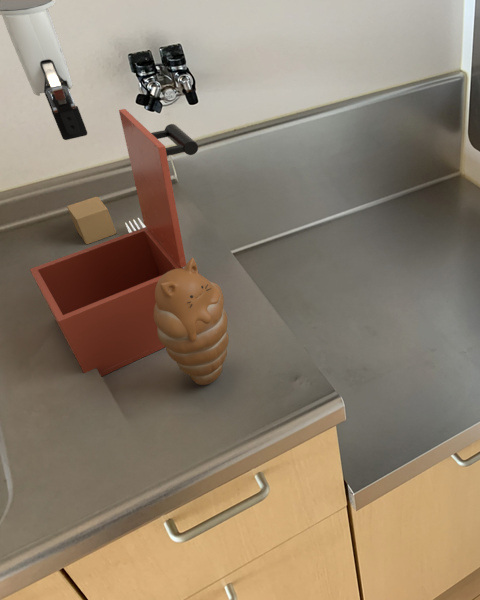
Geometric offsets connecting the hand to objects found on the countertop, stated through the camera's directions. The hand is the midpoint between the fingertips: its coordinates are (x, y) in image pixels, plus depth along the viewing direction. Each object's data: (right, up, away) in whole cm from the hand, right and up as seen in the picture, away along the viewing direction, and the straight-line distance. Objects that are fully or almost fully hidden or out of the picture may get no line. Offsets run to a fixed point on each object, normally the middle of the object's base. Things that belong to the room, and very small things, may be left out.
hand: (69, 123), depth 87 cm
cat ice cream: (+22, -35, -8) cm, 43 cm away
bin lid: (+16, -11, -10) cm, 22 cm away
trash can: (+9, -29, -1) cm, 31 cm away
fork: (+8, -18, +12) cm, 23 cm away
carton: (-4, -14, +16) cm, 22 cm away
